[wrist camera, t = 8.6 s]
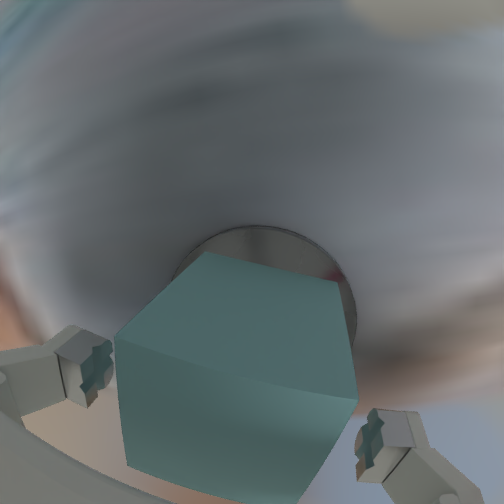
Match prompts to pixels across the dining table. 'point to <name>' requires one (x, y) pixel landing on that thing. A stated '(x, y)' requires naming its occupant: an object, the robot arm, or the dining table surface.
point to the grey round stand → (280, 258)
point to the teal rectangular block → (236, 380)
